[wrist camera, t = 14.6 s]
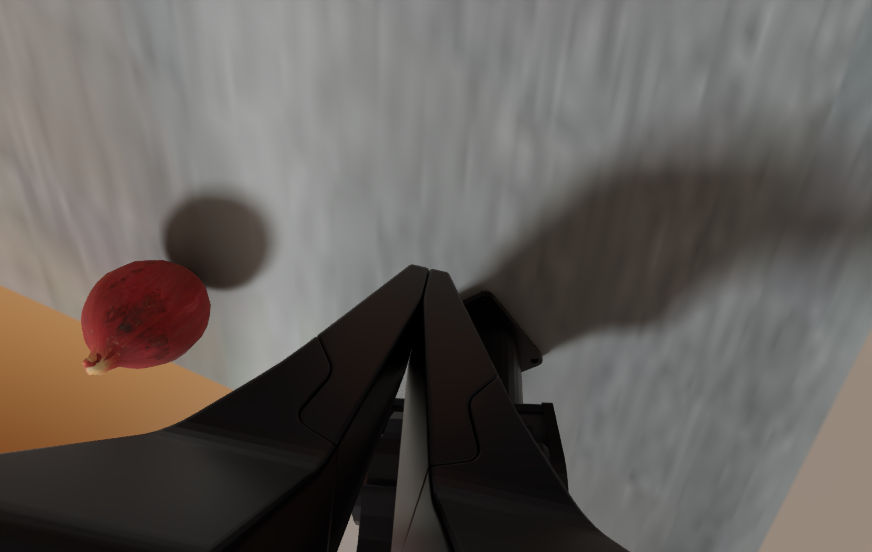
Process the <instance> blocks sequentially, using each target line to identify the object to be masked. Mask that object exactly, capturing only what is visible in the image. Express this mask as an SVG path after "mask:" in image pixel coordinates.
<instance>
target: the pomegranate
mask: <svg viewBox="0 0 872 552" xmlns="http://www.w3.org/2000/svg"><path fill="white" fill-rule="evenodd" d="M210 306H211V304H210V301H209V297H208V294H207V290H206V288H205V286H204V284H203V283H202V282H201V280H200V279H199V278H198V276H197V275H195V274H194V273H193V272H191V271H190V270H188V269H187V268H186V267H184V266H181V265H178V264H175V263H172V262H168V261H164V260H147V261H134V262H132V263H129V264H127V265H125V266H122V267H120V268H118V269H116V270H113V271H111V272H109V273H107V274H106V275H105V276H104V277H102V278H101V279H100V280H99V281H98V282H97V283H96V284H95V286H94V287H93V289H92V290H91V292H90V294H89V296H88V298H87V300H86V302H85V304H84V307H83V310H82V316H81V324H82V331H83V336H84V340H85V342H86V345H87V346H88V348H89V349H90V350H91V353H90V355H89V357H88V358H86V359H85V360H84V361H83V362H82V364H83V366H84V368H85V370H86V372H87V373H88V374H89V375H91V374H96V375H103V374H104V373H106V372H107V371H108V370H111V369H114V368H117V367H126V368H134V369H141V368H148V367H153V366H157V365H161V364H166V363H168V362H171V361H173V360H176V359H177V358H179V357H180V356H182V355H183V354H185V353H186V352H187V351H188V350H189V349H190V348H191V347H192V346H193V345H194V344H195V343H196V342H197V341H198V340H199V339H200V338H201V337H202V335H203V333H204V331H205V329H206V328H207V325H208V321H209V316H210Z"/></svg>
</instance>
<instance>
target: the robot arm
mask: <svg viewBox="0 0 872 552" xmlns="http://www.w3.org/2000/svg"><path fill="white" fill-rule="evenodd" d="M428 273H429V274H428ZM483 299H488V300H489V301H487V302H486V301H483ZM410 353H411V354H410ZM409 357H410V359H409ZM532 358H536V359H532ZM408 361H409V364H408ZM542 361H543V359H542V354H541V352H540V351H539V350H538V349H537V347H536V346H535V345H534V344H533V343H532V341H531V340H530V339H529V338H528V336H527V335H526V334H525V333H524V332H523V330H522V329H521V328H520V327H519V325H518V324H517V323H516V322H515V321H514V319H513V318H512V317H511V316H510V314H509V313H508V312H507V311H506V310H505V308H504V307H503V306H502V305H501V303H500V302H499V301H498V300H497V299H496V297H495V296H494V295H493V294H492V293H491V292H488V291H484V292H481V293H479V294H477V295H475V296H473V297H471V298H469V299H467V300H465V301H463V302H462V299H461V297H460V295H459V293H458V291H457V289H456V287H455V285H454V283H453V281H452V279H451V277H450V275H449V273H447V272H444V271H439V270H435V269H431V270H430V271H429V270H428V268H426V267H421V266H417V265H409V266H408V267H407V268H405V269H404V270H403V271H401V272H400V273H399V274H397V275H396V276H395V277H393V278H392V279H391V280H390V281H388V282H387V283H386V284H384V285H383V286H382V287H380V288H379V289H378V290H376V291H375V292H374V293H372V294H371V295H370V296H369V297H367V298H366V299H365V300H363V301H362V302H361V303H359V304H358V305H357V306H355V307H354V308H353V309H351V310H350V311H349V312H348V313H346V314H345V315H344V316H342V317H341V318H340V319H338V320H337V321H336V322H334V323H333V324H332V325H331V326H329V327H328V328H327V329H325V330H324V331H323V332H321V333H320V334H319V335H318V336H317V337H314V338H313V339H312V340H311V341H309V342H308V343H307V344H305V345H304V346H303V347H301V348H300V349H298V350H297V351H296V352H294V353H293V354H291V355H290V356H289V357H287V358H286V359H284V360H283V361H282V362H280V363H278V364H277V365H275V366H274V367H272V368H270V369H269V370H267V371H266V372H264V373H262V374H261V375H259V376H258V377H256V378H254V379H253V380H251V381H249V382H248V383H246V384H244V385H242V386H241V387H239V388H237V389H236V390H234V391H232V392H231V393H229V394H227V395H226V396H224V397H222V398H221V399H219V400H217V401H215V402H214V403H212V404H210V405H209V406H207V407H205V408H204V409H202V410H200V411H199V412H197V413H195V414H193V415H192V416H190V417H188V418H186V419H185V420H182V421H181V422H178V423H176V424H174V425H171V426H169V427H166V428H163V429H161V430H158V431H154V432H151V433H146V434H141V435H134V436H127V437H119V438H112V439H105V440H97V441H90V442H83V443H75V444H68V445H60V446H53V447H46V448H38V449H32V450H24V451H16V452H9V453H2V454H0V552H337V550H338V548H339V545H340V542H341V540H342V537H343V535H344V532H345V529H346V527H347V524H348V521H349V519H350V516H351V514H352V516H353V520H354V522H355V524H356V525H359V536H358V545H357V552H630V551H628V550H627V549H625V548H624V547H622V546H621V545H619V544H618V543H616V542H615V541H613V540H612V539H610V538H609V537H607V536H606V535H605V534H603V533H602V532H601V531H600V530H599V529H598V528H596V527H595V526H594V525H593V523H592V522H591V521H590V520H589V519H588V518H587V517H586V516H585V515H584V513H583V512H582V511H581V510H580V508H579V507H578V506H577V504H576V503H575V502H574V500H573V499H572V497H571V496H570V494H569V492H568V479H567V470H566V463H565V457H564V453H563V448H562V443H561V439H560V434H559V430H558V425H557V421H556V416H555V411H554V407H553V403H541V404H523V394H522V376H521V372H523V371H525V370H528V369H531V368H533V367H536V366H538V365H540V364H541V363H542ZM407 365H408V371H407V381H406V392H405V399H403V398H395V397H396V395H397V392H398V389H399V387H400V384H401V382H402V379H403V376H404V374H405V371H406V368H407Z"/></svg>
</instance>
